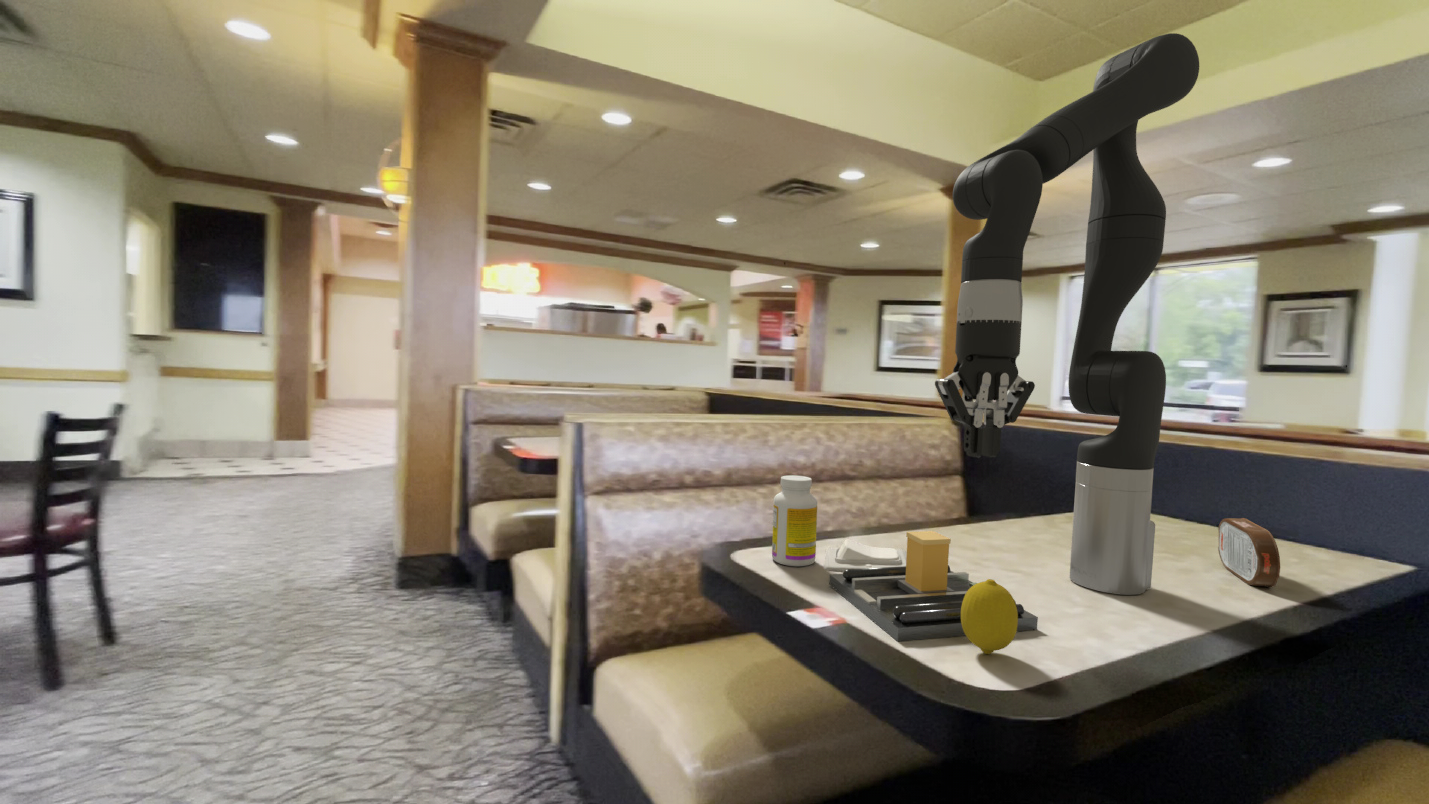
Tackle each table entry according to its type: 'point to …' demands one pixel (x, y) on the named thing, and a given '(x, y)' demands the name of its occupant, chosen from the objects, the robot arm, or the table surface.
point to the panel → (911, 603)
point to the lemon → (989, 616)
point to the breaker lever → (926, 563)
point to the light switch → (862, 557)
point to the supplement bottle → (794, 522)
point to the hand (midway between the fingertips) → (981, 455)
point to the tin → (1249, 552)
